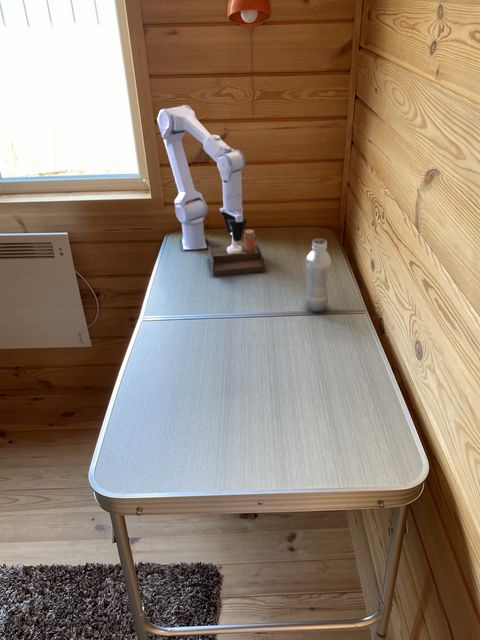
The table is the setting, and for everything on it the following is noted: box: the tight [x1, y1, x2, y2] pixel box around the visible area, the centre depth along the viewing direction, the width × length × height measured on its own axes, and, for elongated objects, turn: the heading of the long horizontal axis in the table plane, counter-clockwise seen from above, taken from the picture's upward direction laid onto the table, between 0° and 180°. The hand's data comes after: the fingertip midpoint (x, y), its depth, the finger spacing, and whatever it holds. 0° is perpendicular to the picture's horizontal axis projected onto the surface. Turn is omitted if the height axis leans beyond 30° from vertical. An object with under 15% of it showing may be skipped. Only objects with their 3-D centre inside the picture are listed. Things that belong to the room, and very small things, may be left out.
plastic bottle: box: [303, 238, 332, 313], centre depth 138 cm, size 6×7×20 cm
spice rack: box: [207, 241, 265, 277], centre depth 165 cm, size 12×16×5 cm
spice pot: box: [243, 229, 256, 252], centre depth 165 cm, size 4×4×6 cm
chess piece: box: [226, 226, 242, 253], centre depth 163 cm, size 5×5×10 cm
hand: (233, 236), depth 163 cm, fingers open, 7 cm apart
